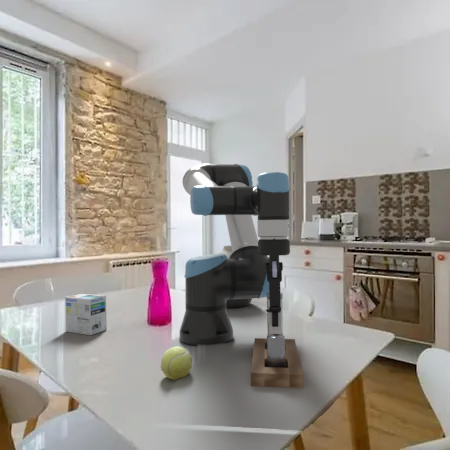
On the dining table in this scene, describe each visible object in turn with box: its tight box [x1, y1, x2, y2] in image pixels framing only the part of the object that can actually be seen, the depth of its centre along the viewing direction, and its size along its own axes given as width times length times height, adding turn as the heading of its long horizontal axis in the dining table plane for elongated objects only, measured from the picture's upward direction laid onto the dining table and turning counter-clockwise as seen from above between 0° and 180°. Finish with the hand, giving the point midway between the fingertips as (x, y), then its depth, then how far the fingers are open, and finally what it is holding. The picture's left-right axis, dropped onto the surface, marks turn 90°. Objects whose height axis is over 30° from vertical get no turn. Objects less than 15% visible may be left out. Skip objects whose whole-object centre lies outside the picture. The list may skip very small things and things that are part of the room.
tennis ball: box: [160, 346, 193, 381], centre depth 77 cm, size 6×7×7 cm
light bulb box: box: [64, 293, 108, 336], centre depth 112 cm, size 11×7×11 cm, turn 65°
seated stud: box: [266, 334, 286, 368], centre depth 76 cm, size 4×4×8 cm
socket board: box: [250, 337, 304, 389], centre depth 81 cm, size 10×22×3 cm, turn 173°
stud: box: [266, 292, 284, 336], centre depth 86 cm, size 4×4×13 cm
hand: (275, 336), depth 86 cm, fingers closed on stud, 4 cm apart
